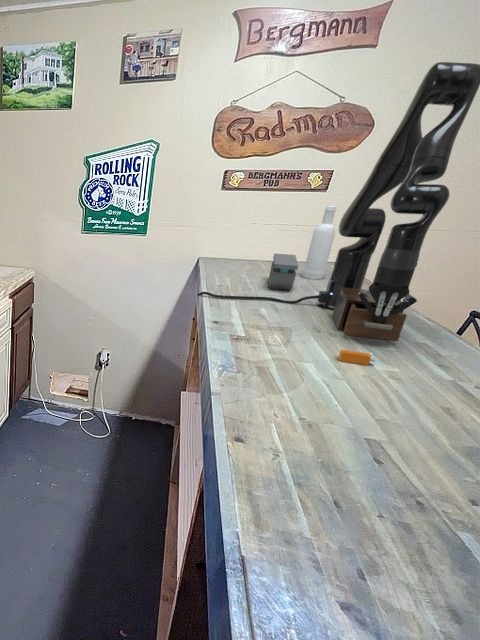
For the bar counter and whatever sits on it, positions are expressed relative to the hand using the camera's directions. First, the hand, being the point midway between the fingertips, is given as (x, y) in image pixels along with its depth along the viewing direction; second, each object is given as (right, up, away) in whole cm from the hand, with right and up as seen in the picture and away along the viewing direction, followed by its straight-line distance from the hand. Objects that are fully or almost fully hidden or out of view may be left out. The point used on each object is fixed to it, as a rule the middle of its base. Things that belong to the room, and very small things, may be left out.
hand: (376, 327), depth 127 cm
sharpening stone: (+11, +22, +63) cm, 67 cm away
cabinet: (+8, +2, +16) cm, 18 cm away
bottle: (+34, +28, +76) cm, 88 cm away
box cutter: (-14, -9, -10) cm, 19 cm away
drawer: (+4, -1, +8) cm, 8 cm away
